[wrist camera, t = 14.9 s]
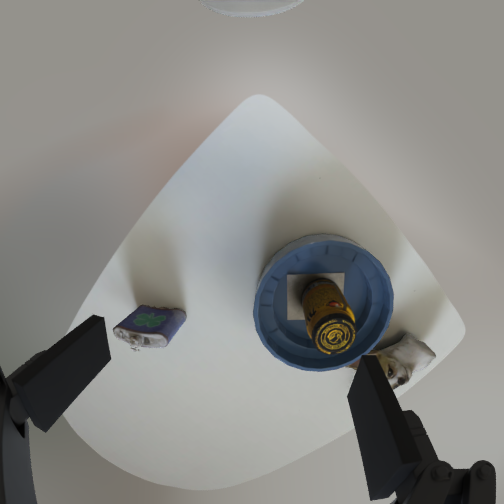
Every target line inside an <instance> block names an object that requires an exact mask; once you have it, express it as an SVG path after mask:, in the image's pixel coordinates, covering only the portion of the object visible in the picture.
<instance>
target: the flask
mask: <svg viewBox="0 0 504 504" xmlns="http://www.w3.org/2000/svg"><path fill="white" fill-rule="evenodd" d="M185 320H186V313H185V311H183V310H180V309H177V308H174V309H169V308H165V307H160V308H156V307H150V306H146V305H141V306H139V307H138V308H137V309H136V310H135V311H134V312H132V313H131V314H129V315H128V316H127V318H125V319H124V320H123V321H121V322H120V323H119V324H118V325H116V326H115V327H114V328H113V332H114V335H115V337H116V338H117V339H119V340H121V341H125V342H127V343H129V344H131V345H130V346H132V347H135V348H137V347H138V346H141V347H154V348H160V347H166V346H167V345H168V343H169V342H170V340H171V339H172V338H173V336H174V335H175V334H176V332H177V331H178V329H179V328H180V327H181V325H182V324H183V323H184V322H185ZM132 347H131V350H133V351H137V350H136V349H134V348H132ZM138 351H140V350H139V349H138Z"/></svg>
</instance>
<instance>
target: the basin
mask: <svg viewBox="0 0 504 504" xmlns="http://www.w3.org/2000/svg"><path fill="white" fill-rule="evenodd" d="M319 273H321V274H322V273H345V274H344V292H343V295H344V296H345V298H346V300H347V303H348V304H349V305H350V307H351V309H352V312H353V314H354V319H355V325H356V328H357V334H356V338H355V341H354V343H353V344H352V346H351V347H350V348H349V349H348V350H346V351H344V352H342V353H340V354H335V355H326V354H324V353H322V352H319V351H318V350H317V349H316V348H315V346H314V345H313V343H312V339H311V338H310V336H309V335H308V332H307V328H306V324H305V320H287V275H297V274H319ZM393 299H394V294H393V289H392V285H391V281H390V277H389V276H388V274H387V272H386V271H385V269H384V267H383V266H382V264H381V263H380V262H379V261H378V260H377V259H376V258H375V257H374V256H373V255H372V254H370V253H369V252H368V251H367V250H366V249H364V248H363V247H361V246H360V245H359V244H357V243H355V242H353V241H351V240H349V239H347V238H344V237H342V236H337V235H330V234H317V235H310V236H305V237H303V238H300V239H298V240H295V241H293V242H290V243H289V244H288V245H286V246H285V247H284V248H282V249H281V250H280V251H278V252H277V253H276V254H275V255H274V256H273V257H272V259H271V260H270V261H269V263H268V264H267V265H266V266H265V268H264V270H263V273H262V275H261V278H260V280H259V282H258V286H257V291H256V295H255V302H254V310H253V316H254V322H255V327H256V331H257V333H258V335H259V337H260V339H261V341H262V343H263V345H264V346H265V347H266V348H267V349H268V350H269V352H270V353H271V354H272V355H273V356H274V357H276V358H277V359H279V360H280V361H282V362H283V363H285V364H287V365H288V366H292V367H295V368H298V369H301V370H305V371H318V372H322V371H329V370H335V369H339V368H342V367H344V366H347V365H350V364H352V363H354V362H356V361H357V360H359V359H360V358H361V356H362V355H366V354H368V353H369V352H370V351H371V350H372V349H373V348H374V347H375V346H376V345H377V343H378V342H379V341H380V340H381V338H382V336H383V335H384V333H385V331H386V330H387V328H388V326H389V323H390V319H391V316H392V313H393Z"/></svg>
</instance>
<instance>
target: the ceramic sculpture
mask: <svg viewBox="0 0 504 504" xmlns="http://www.w3.org/2000/svg"><path fill="white" fill-rule="evenodd" d="M366 355H376V356H377V358H378V360H379V362H380V364H381V366H382V368H383V370H384V372H385V375H386V377H387V379H388V381H389V383H390V385H391V387H392V389H395V388H397V387H398V386H400V385H403V384H406V383H407V382H408V381H409V379H410V378H411V376H412V373H413V372H415V371H418V370H422V369H424V368H425V367H427V366H428V365H429V364H430V363H431V361H432V360H433V359H434V358H435V357H436V355H435V353H434V352H433V351H432V350H431V349H430V348H429V347H428V346H427V345H426V344H425V343H424V342H422V341H419V340H417V339H415V338H414V337H413V336H412V335H410V334H406V335H404V337H403V338H402V340H401V341H400V342H399V343H397V344H394V345H392V346H390V347H388V348H385V349H382V350H371V351H370V352H369V353H368V354H366ZM360 359H361V358H360ZM360 359H359V360H357V361H356V362H354V363H352V364H350V365H347V366H345V367H349V368H353V369H355V370H357V368H358V365H359V362H360Z"/></svg>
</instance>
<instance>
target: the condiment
mask: <svg viewBox="0 0 504 504" xmlns="http://www.w3.org/2000/svg"><path fill="white" fill-rule="evenodd" d="M344 274H345V273H322V274H321V273H319V274H297V275H287V320H305V324H306V328H307V332H308V335H309V336H310V338H311V339H312V343H313V345H314V346H315V348H316V349H317V350H318V351H319V352H322V353H324V354H326V355H335V354H340V353H342V352H344V351H346V350H348V349H349V348H350V347H351V346H352V344H353V343H354V341H355V338H356V334H357V328H356V325H355V319H354V314H353V312H352V309H351V307H350V305H349V304H348V303H347V300H346V298H345V296H344V295H343V292H344Z"/></svg>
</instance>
